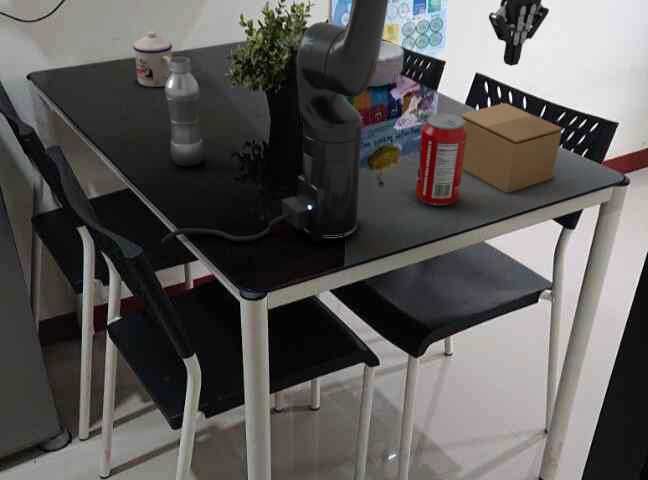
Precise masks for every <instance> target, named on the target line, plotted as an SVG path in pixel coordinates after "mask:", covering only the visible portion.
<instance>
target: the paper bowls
mask: <svg viewBox="0 0 648 480" xmlns="http://www.w3.org/2000/svg"><path fill="white" fill-rule="evenodd" d="M404 55H405V51H404V49H403V48H402V46H400V45H398V44H396V43H393V42H391V41H386V40H382V43H381V48H380V54H379V59H378V63H377V67H376V70H375V73H374V76H373V78H372V81H371V83H370V85H369V86H368V87H373V88H375V87H382V86H386V85H388V84H389V83H391V82H392V81H393V79H394V77H395V76H398V75H400V74H401V73H402V72H403V69H404Z"/></svg>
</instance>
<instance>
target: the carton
mask: <svg viewBox="0 0 648 480" xmlns="http://www.w3.org/2000/svg"><path fill="white" fill-rule="evenodd" d="M531 115H532V116H528V117H524V118H521V119H517V120H513V121H509V122H505V123H502V124H498V125H494V126H490V127H488V129H486V128H484V127H482V126H480V125H478V124H476V123H474V122H472V121H470V120H468V119H466V118H464V117H462V116H461V118H462V119H463V120H464V121H465V124H464V125H465V127H466V129H467V139H466V146H465V153H464V161H463V168H462V170H464V171H466V172H468V173H469V174H471V175H474V176H475V177H477V178H479V179H481V180H483V181H484V182H486V183H488V184H489V185H491V186H493V187H495V188H497V189H499V190H500V191H503V192H504V193H506V194H508V193H511V192H514V191H518V190H520V189H524V188H528V187H531V186H533V185H537V184H539V183H543V182H546V181H549V180H552V178H553V174H554V169H555V165H556V160H557V157H558V156H557V155H558V151H559V146H560V141H561V138H562V133H563V132H562V130H563V127H560V126H559V125H556V124H555V123H552V122H550V121H548V120H545V119H543V118H541V117H538V116H537V115H534V114H531Z"/></svg>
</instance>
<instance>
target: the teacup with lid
mask: <svg viewBox="0 0 648 480" xmlns="http://www.w3.org/2000/svg"><path fill="white" fill-rule="evenodd" d="M172 48H173V44H172V42H171V40H168V39H167V38H163V37H161V36H159V35H157V34H156V32H155V31H147V33H146V36H144V37H142V38H141V39H137V40H136V41H134V42H133V45H132V49H133V50H134V57H135V59H134V60H135V67H136V74H137V82H138V84H140V85H141V86H143V87H149V88H161V87H165V85H166V82H167V80H168V78H169V77H170V75H171V74H172V72H171V71H170V59H171V58H173V51H172Z"/></svg>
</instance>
